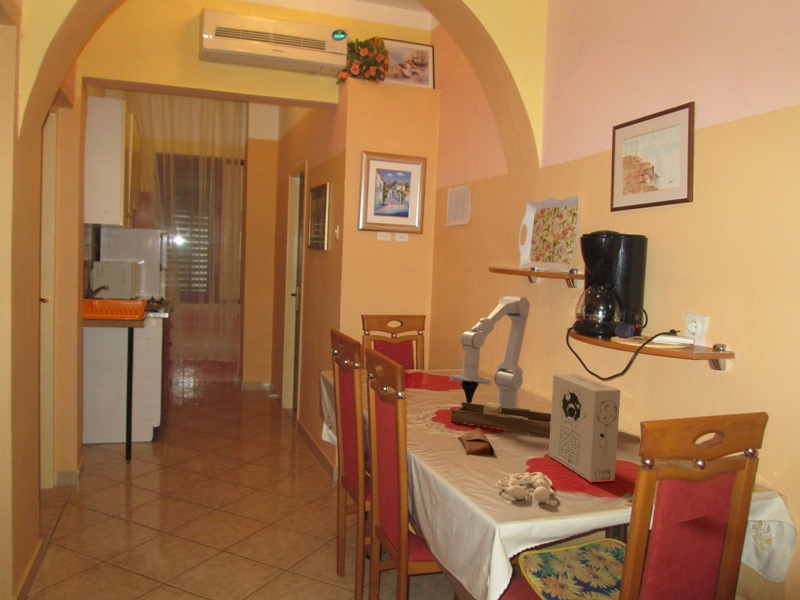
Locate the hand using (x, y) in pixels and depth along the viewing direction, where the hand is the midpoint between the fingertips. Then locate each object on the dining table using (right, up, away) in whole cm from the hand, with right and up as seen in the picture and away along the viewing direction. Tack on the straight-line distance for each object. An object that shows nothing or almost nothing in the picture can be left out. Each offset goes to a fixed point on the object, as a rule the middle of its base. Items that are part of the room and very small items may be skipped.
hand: (469, 402), depth 220 cm
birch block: (+8, -4, -3) cm, 9 cm away
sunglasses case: (-2, -9, -29) cm, 31 cm away
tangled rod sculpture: (+7, -12, -64) cm, 65 cm away
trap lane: (+11, -7, -4) cm, 14 cm away
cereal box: (+26, -11, -47) cm, 55 cm away
